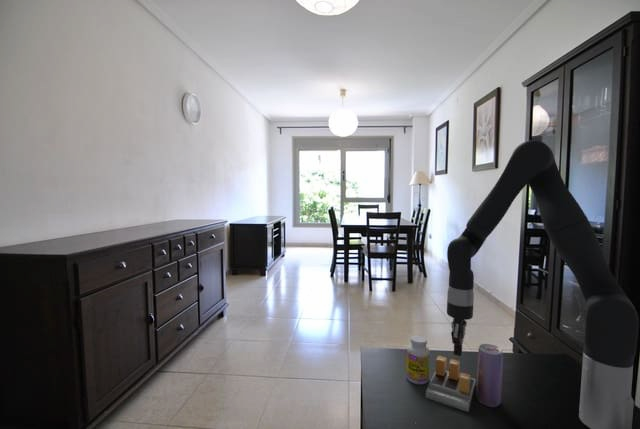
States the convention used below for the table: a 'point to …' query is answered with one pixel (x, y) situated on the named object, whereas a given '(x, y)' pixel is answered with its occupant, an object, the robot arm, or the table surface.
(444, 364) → the wooden block
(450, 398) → the tray
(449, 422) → the table surface
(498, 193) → the robot arm
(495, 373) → the beverage can
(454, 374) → the paddle
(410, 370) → the supplement bottle
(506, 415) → the table surface
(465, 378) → the tan upright block
